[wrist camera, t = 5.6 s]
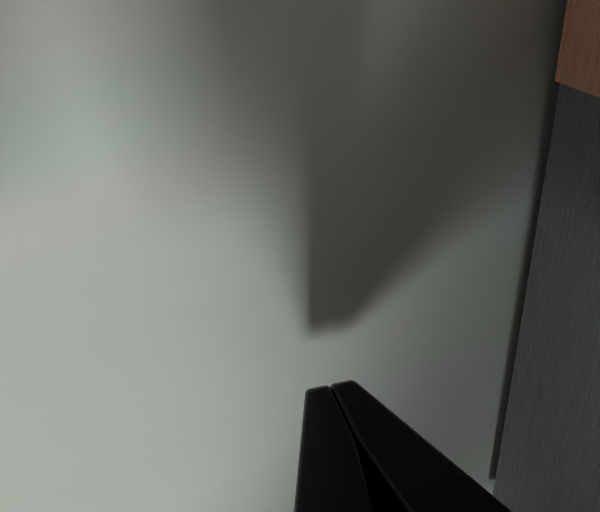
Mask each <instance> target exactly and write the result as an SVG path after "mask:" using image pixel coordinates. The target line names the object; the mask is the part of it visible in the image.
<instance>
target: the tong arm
mask: <svg viewBox="0 0 600 512" xmlns="http://www.w3.org/2000/svg"><path fill="white" fill-rule="evenodd" d="M554 81H556V82H558V83H560V86H559V92H558V98H557V104H556V110H555V117H554V123H553V129H552V135H551V141H550V147H549V153H548V160H547V166H546V172H545V178H544V184H543V190H542V196H541V202H540V209H539V215H538V221H537V227H536V233H535V239H534V245H533V251H532V258H531V264H530V270H529V276H528V282H527V288H526V294H525V300H524V307H523V313H522V319H521V325H520V331H519V337H518V343H517V349H516V356H515V362H514V368H513V374H512V380H511V386H510V392H509V398H508V405H507V411H506V417H505V423H504V429H503V435H502V441H501V447H500V454H499V460H498V466H497V472H496V478H495V484H494V490H493V496H494V497H495V498H496V499H497V500H499V501H500V502H501V503H502V504H504V505H505V506H506V507H507V508H508V509H510V510H511V511H512V512H600V0H567V4H566V11H565V17H564V23H563V30H562V36H561V42H560V49H559V55H558V61H557V68H556V74H555V80H554Z"/></svg>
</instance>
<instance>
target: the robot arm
mask: <svg viewBox="0 0 600 512" xmlns="http://www.w3.org/2000/svg"><path fill="white" fill-rule="evenodd" d="M294 512H512V511H511V510H510V509H508V508H507V507H506V506H505V505H504V504H502V503H501V502H500V501H499V500H497V499H496V498H495V497H494V496H493V495H491V494H490V493H489V492H488V491H487V490H485V489H484V488H483V487H482V486H481V485H479V484H478V483H477V482H476V481H475V480H473V479H472V478H471V477H470V476H469V475H467V474H466V473H465V472H464V471H463V470H461V469H460V468H459V467H458V466H457V465H455V464H454V463H453V462H452V461H451V460H449V459H448V458H447V457H446V456H445V455H443V454H442V453H441V452H440V451H438V450H437V449H436V448H435V447H434V446H432V445H431V444H430V443H429V442H428V441H426V440H425V439H424V438H423V437H422V436H420V435H419V434H418V433H417V432H416V431H414V430H413V429H412V428H411V427H410V426H408V425H407V424H406V423H405V422H404V421H402V420H401V419H400V418H399V417H398V416H396V415H395V414H394V413H393V412H392V411H390V410H389V409H388V408H387V407H385V406H384V405H383V404H382V403H381V402H379V401H378V400H377V399H376V398H375V397H373V396H372V395H371V394H370V393H369V392H367V391H366V390H365V389H364V388H363V387H361V386H360V385H359V384H358V383H357V382H355V381H353V380H348V381H344V382H339V383H334V384H332V385H331V386H330V387H329V386H327V385H325V386H320V387H315V388H311V389H308V390H307V391H306V393H305V402H304V412H303V423H302V433H301V444H300V454H299V464H298V475H297V485H296V496H295V506H294Z"/></svg>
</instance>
